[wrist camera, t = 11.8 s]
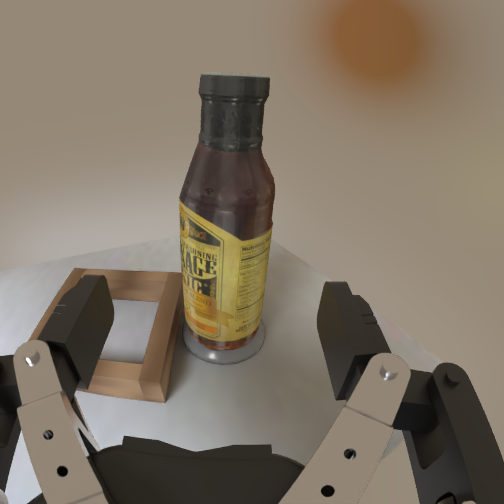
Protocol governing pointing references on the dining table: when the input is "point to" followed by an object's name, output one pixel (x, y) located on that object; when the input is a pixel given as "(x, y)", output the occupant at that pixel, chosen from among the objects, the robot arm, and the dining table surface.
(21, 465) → the dining table surface
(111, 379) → the pocket frame
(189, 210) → the sauce bottle
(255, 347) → the coaster
